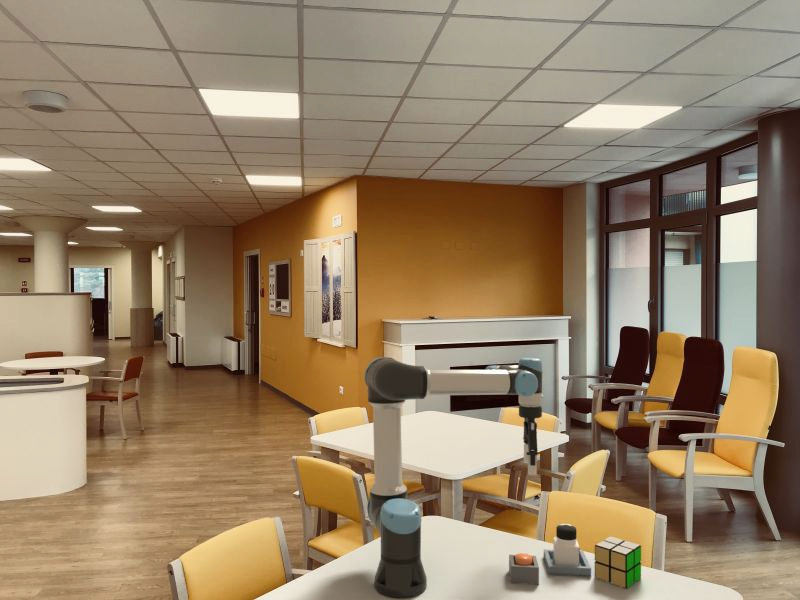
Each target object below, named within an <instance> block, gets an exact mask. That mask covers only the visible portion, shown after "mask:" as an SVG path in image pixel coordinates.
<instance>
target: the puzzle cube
mask: <svg viewBox="0 0 800 600" xmlns="http://www.w3.org/2000/svg"><path fill="white" fill-rule="evenodd" d="M641 561H642V545H641V544H638V543H634V542H632V541H627V540H624V539H622V538H619V537H614V536H609V537H606V538H605V539H603V540H601V541H600V542H598V543H596V544H595V545H594V578H595V579H597V578H598V580H600V579H601V581H603V580H604V581H603V582H606V581H607V582H606V583H608V582H610V584H611V583H612V585H614V584H615V586H617V587H620V586H621V587H620V588H622V587H623V588H622V589H625V588H626V589H628V588H629V587H630V586H632V585H633V584H634V583H636V582H638V581H639V580H640V579H641V578H642V562H641Z"/></svg>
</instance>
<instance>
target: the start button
mask: <svg viewBox="0 0 800 600" xmlns="http://www.w3.org/2000/svg"><path fill="white" fill-rule="evenodd" d="M514 555H515V565H529V566H532V556H533V555H530V554H528V553H516V554H514Z"/></svg>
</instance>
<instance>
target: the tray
mask: <svg viewBox="0 0 800 600" xmlns="http://www.w3.org/2000/svg"><path fill="white" fill-rule="evenodd" d="M553 550H554V549H543V560H544V563H545V567H546V569H547V573H548V575H549V576H564V577H565V576H566V577H567V576H569V577H570V576H571V577H587V578H588V577H589V576H590V578H591V577H592V567H591V564H590V563H589V561H588V559H587V557H586V554H585V553H584V551H583V550H580V566H565V565H555V563H554V558H553Z"/></svg>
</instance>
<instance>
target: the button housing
mask: <svg viewBox="0 0 800 600" xmlns="http://www.w3.org/2000/svg"><path fill="white" fill-rule="evenodd" d="M515 555H516V554H508V573H509V580H510V584H519V585H537V586H540V585H539V584H540V566H539V563H538V559H537V556H536V555H531V556H532V566H529V565H515Z"/></svg>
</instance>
